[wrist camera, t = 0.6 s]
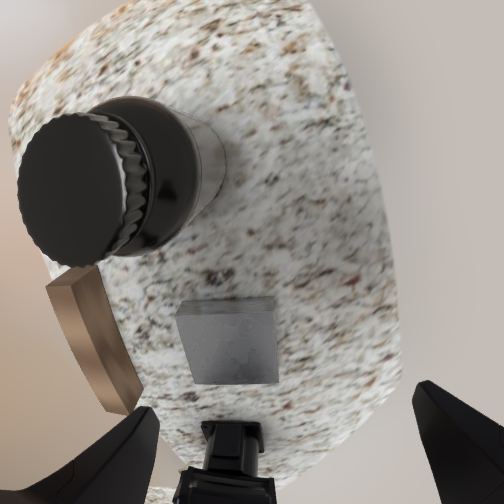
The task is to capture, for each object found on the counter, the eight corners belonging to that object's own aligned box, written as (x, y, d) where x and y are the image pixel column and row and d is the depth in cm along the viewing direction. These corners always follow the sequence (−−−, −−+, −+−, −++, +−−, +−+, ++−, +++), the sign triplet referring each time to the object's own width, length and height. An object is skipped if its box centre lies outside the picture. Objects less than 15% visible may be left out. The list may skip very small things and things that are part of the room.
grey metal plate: (278, 363, 23) (279, 382, 21) (200, 365, 24) (195, 384, 22) (273, 293, 21) (273, 311, 19) (183, 298, 22) (174, 315, 19)
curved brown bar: (143, 389, 25) (130, 416, 21) (120, 386, 26) (106, 411, 22) (97, 265, 21) (70, 286, 17) (72, 267, 21) (45, 286, 17)
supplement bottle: (124, 200, 19) (-1, 258, 8) (147, 108, 17) (18, 76, 5) (212, 227, 19) (141, 329, 8) (242, 130, 17) (197, 88, 6)
